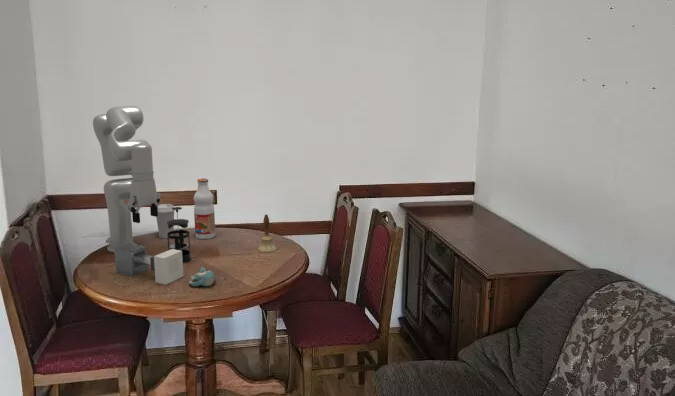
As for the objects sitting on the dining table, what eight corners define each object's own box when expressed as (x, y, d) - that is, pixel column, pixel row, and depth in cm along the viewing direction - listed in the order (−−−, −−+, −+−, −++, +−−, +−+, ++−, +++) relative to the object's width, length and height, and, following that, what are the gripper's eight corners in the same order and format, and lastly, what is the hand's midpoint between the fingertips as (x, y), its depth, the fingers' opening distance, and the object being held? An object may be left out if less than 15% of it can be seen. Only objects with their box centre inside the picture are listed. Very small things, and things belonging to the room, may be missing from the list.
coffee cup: (173, 239, 286) (171, 208, 283) (153, 239, 287) (151, 208, 283) (179, 233, 296) (177, 203, 292) (159, 233, 296) (157, 203, 293)
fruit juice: (218, 237, 290) (216, 179, 284) (200, 240, 284) (197, 182, 278) (210, 232, 297) (207, 176, 291) (192, 236, 292) (189, 178, 285)
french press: (189, 264, 252) (186, 210, 247) (166, 264, 252) (162, 210, 246) (193, 255, 264) (190, 203, 259) (171, 255, 263) (168, 204, 258)
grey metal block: (116, 272, 242) (114, 248, 240) (130, 266, 249) (129, 243, 247) (133, 276, 238) (131, 252, 236) (147, 270, 245) (146, 246, 243)
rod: (129, 265, 240) (128, 253, 239) (138, 262, 244) (137, 249, 243) (166, 273, 232) (165, 260, 230) (175, 269, 236) (174, 256, 235)
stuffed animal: (203, 262, 238) (221, 264, 230) (206, 280, 239) (223, 282, 230) (179, 269, 231) (196, 271, 222) (182, 287, 231) (199, 290, 223)
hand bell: (254, 250, 270) (253, 216, 266) (263, 245, 277) (262, 211, 274) (271, 253, 267) (270, 218, 263) (279, 247, 274) (279, 213, 271)
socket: (155, 282, 232) (153, 256, 229) (173, 274, 240) (171, 249, 238) (165, 284, 230) (164, 258, 227) (183, 276, 238) (181, 250, 236)
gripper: (151, 170, 240) (153, 212, 245) (118, 179, 225) (121, 223, 230) (166, 173, 237) (168, 215, 242) (133, 181, 222) (136, 226, 226)
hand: (145, 219), depth 236 cm, fingers open, 9 cm apart
